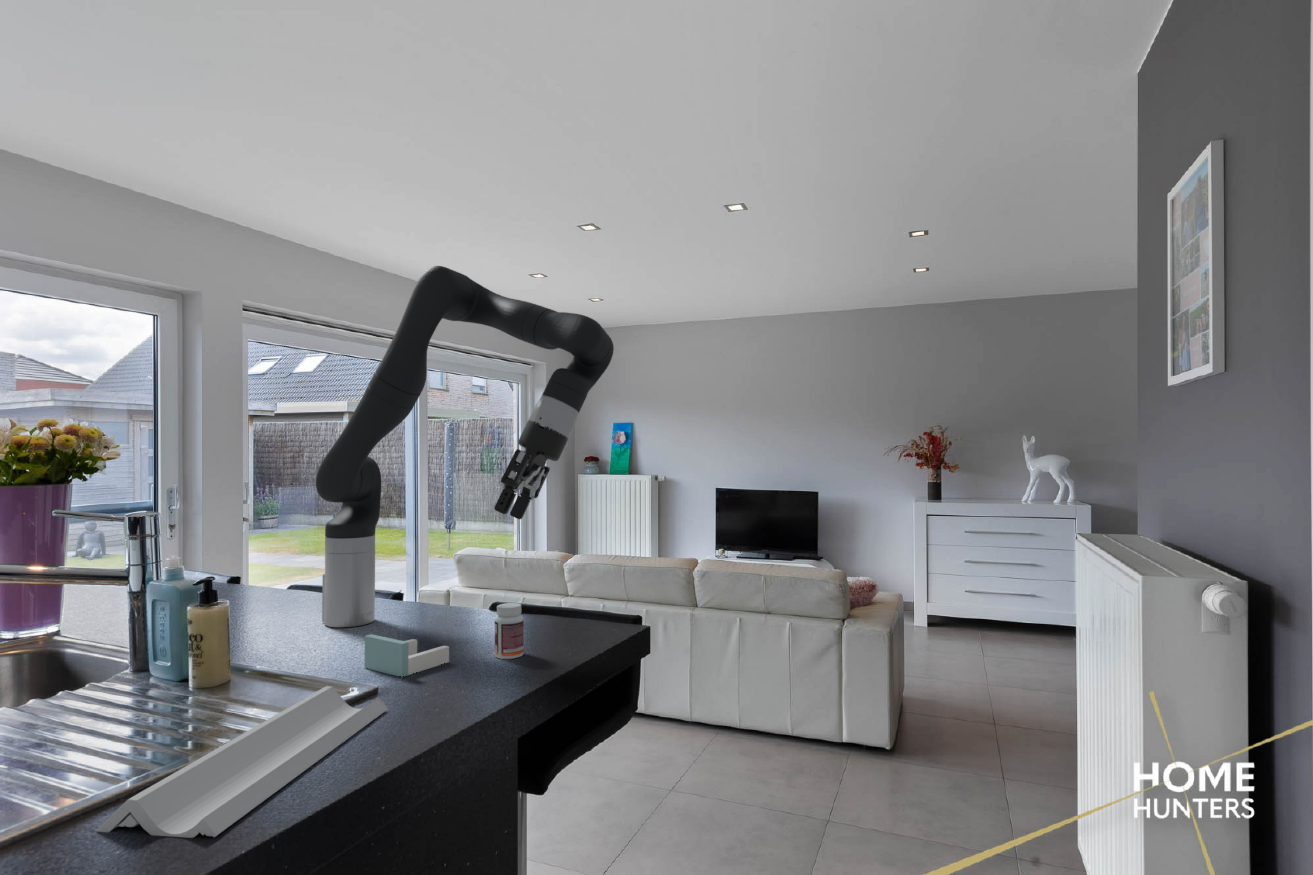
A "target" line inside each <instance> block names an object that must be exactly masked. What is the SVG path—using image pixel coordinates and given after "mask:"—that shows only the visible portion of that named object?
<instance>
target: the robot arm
mask: <svg viewBox="0 0 1313 875" xmlns="http://www.w3.org/2000/svg"><path fill="white" fill-rule="evenodd" d="M443 319H444V320H448V321H451V322H461V323H462V322H463V323H471V324H476V325H477V324H479V325H482V326H488V327H490V328H493V329H496V330H499V331H501V332H503V333H504V334H507V335H509V336H510V337H513V338H515V339H517V340H520V341H523V342H525V343H528V344H531V345H533V346H536V347H538V348H541V349H546V350H550V351H551V350H557V349H561V350H564V351H565V352H568V353H569V354H571V355H572V356H573V358H572V359H571V361H570V362H569V364H568V366H566V368H565V367H559V368H557V369H555V370H554V371H553V373H552V374H551V375H550V378H549V380H548V382H547V384H546V385H545V387H544V390H543V392H542V394H541V397H540V398H539V399H538V401H537V403H536V404H535V405H534V407H533V410H532V412H531V414H530V416H529V418H528V420H527V422H526V424H525V426H524V428H523V430H522V432H521V435H520V437H519V439H518V440H517V443H518V445H519V446H520V447H522V448H523V449H524V450H521V449H518V448H516V449H515V451H514V452H513V455H512V456H511V460H509V461H510V462H508V465H507V467H506V469H505V471H504V472H503V475H502V477H501V478H500V479H501V480H500V483H502V491H501V493H500V495H499V497H498V499H497V501H496V504H495V505H494V511H495V512H498V513H500V514H503V515H507V514H508V513H509V516H511V517H513V518H515V519H517V520H522V519H523V518H524V515H525V513H526V511H527V510H528V507H529V505H530V502H531V501H533V500H534V499H537V498H538V497H539V495H540V492H541V490H542V489H543V488H542V487H543V486H544V483H545V481H546V479H547V477H548V474H549V472H550V471H551V470H550V469H551V467H549V466H547V465H546V463H547V461H548V460H550V461H553V462H557V461H558V460H559V459H560V458H561V455H562V453H563V451H564V449H565V447H566V445H567V443H568V441H569V439H570V436H571V434H572V433H573V430H574V428H575V425H576V422H577V419H578V416H579V414H580V411H581V410H582V407H583V405H584V402H585V401H586V399H587V396H588V394H589V392H590V390H592V388H593V387H594V386H595V385H596V384H597V382H598V381H599V379H600V378H601V377H602V375H603V374H604V373H605V372H606V370H607V369H608V367H609V365H610V363H611V362H612V359H613V355H614V350H615V348H614V343H613V340H612V338H611V336H610V335H609V334H608V333H607V332H606V331H605V329H604V328H603V327H602V325H601V324H600V323H599V322H598V321H597V320H595V319H594V318H591V317H589V316H586V315H584V314H581V313H580V314H579V313H574V312H566V311H565V312H564V311H561V312H560V311H556V310H554V309H551V308H548V307H545V306H542V305H539V304H536V303H533V302H529V301H526V300H521V299H516V298H511V297H506V296H503V295H501V294H500V293H495V292H494V291H492V290H490V289H488V288H487V287H485V286H483V285H482V284H479V283H478V282H476V281H474V280H473V279H471V278H470V277H469V276H467V275H466V274H464V273H461V272H459V271H457V270H454V269H451V268H449V267H446V266H443V265H433V266H431V267H429V268H427V269H426V270H425V271H424V272H423V273H422V274H421V275H420V277H419V278H418V280H417V282H416V283H415V286H414V288H413V290H412V293H411V296H410V298H409V300H408V303H407V304H406V308H405V310H404V313H403V316H402V319H401V320H400V323H399V325H398V327H397V330H396V332H395V334H394V336H393V338H392V339H391V342H390V343H389V346H388V348H387V350H386V351H385V353H384V356H383V358H382V360H381V361H380V362H379V365H378V366H377V368H376V369H375V371H374V373H373V375H372V377H371V379H370V380H369V382H368V385H367V386H366V389H365V391H364V393H363V395H362V397H361V399H360V400H359V402H358V404H357V405H356V407H355V410H354V411H353V413H352V414H351V417H350V419H349V420H348V422H347V424H346V426H345V427H344V428H343V431H341V434H340V435H339V437H338V438H337V439H336V441H335V442H334V444H333V446H332V447H331V448H330V449H329V451H328V453H327V454H326V456H325V457H324V458H323V460H322V461H321V464H320V465H319V467H318V469H317V473H316V476H315V488H316V492H317V494H318V496H319V497H320V498H321V499H322V500H323V501H326V502H331V503H342V504H341V509H340V510H339V512H338V514H336V515H335V516H334V517H333V518H331V519H330V520H329V521H327V522H326V524H325V527H324V528H325V529H324V530H325V531H324V536H325V537H324V573H323V575H322V584H321V588H322V594H321V595H322V600H321V602H322V604H321V606H322V607H321V608H322V610H321V617H322V618H321V621H322V623H324V626H326V627H332V628H351V627H357V626H358V627H360V626H364V625H367V624H368V625H369V624H371V623H373V622H374V621H375V616H376V614H375V613H376V612H375V609H376V608H375V607H376V606H375V604H376V602H375V601H376V596H375V595H376V526H377V524H378V522H379V519H380V514H381V500H382V474H381V470H380V466H379V465H378V463H377V461H375V459H373V458H372V457H370V456H369V455H370V453H371V452H372V451H373V449H374V448H375V446H376V445H378V443H380V442H381V441H382V440H383V439H384V438H385V437H386V436H387V435H388V434H390V433H391V432H392V431H393V430H394V429H396V428H397V427H398V426H399V425H400V424H401V423H402V422H403V421H404V420H405V419H406V418H407V417H408V416H409V414H411V412H412V410H413V409H414V407H415V405H416V403H417V401H418V399H419V398H420V396H421V394H422V392H423V390H424V387H425V385H426V381H427V373H428V371H427V370H428V368H427V366H428V364H427V362H428V359H427V358H428V349H429V344H430V342H431V339H432V337H433V335H434V333H435V331H436V330H437V327H438V326H439V323H440V322H441V321H442V320H443ZM518 492H519V494H518V495H517V493H518ZM516 496H517V497H516ZM515 498H516V499H515ZM514 501H515V502H514ZM513 503H514V504H513ZM512 505H513V506H512ZM511 507H512V508H511ZM509 511H510V512H509Z"/></svg>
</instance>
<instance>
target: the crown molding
mask: <svg viewBox="0 0 1313 875" xmlns="http://www.w3.org/2000/svg"><path fill="white" fill-rule="evenodd" d="M386 711H388V707H387V706H386V705H385V704H384V703H383V701H382V700H381V699H380V698H378V697H377V698H376V699H375V700H373V701H372V702H370V703H368V704H367V705H366V706H364V707H362V708H356V707H352V706H351V705H349V704H348V703H347V701H345V699H343V697H342V696H341V695H340V694H339V693H338V691H337V690H336V689H335V688H334V687H333V686H330V685H329V686H328V685H326V686H324V687H322V688H321V689H319V690H317V691H315V692H314V693H311V694H310V695H308V696H306V697H304V698H303V699H301V700H300V701H298V702H296V703H294V704H292V705H290V706H289V707H287V708H285V709H283V710H282V711H280V712H279V713H277V714H275V715H273V716H272V717H269V718H268V719H266V720H265V721H263V722H261V723H259V724H258V725H255V726H253V727H252V728H251V729H249V730H247V731H245V732H243V733H242V734H240V735H238V736H236V737H234V738H232V739H231V740H230V741H228V742H226V743H224V744H223V745H221V746H219V747H217V748H216V749H213V750H212V751H210V752H209V753H206V754H205V755H203V756H201V757H200V758H199V759H196V760H195V761H193V762H191V763H189V764H187V765H186V766H184V767H181V768H180V769H178V770H177V771H175V772H174V773H171V774H170V775H169V776H167V777H164V778H163V779H161V780H159V781H158V782H156V783H154V784H152V785H151V786H149V787H147V788H145V789H143V790H142V791H140V792H138V793H137V794H135V795H134V796H132V797H130V798H128V799H127V800H126V801H124V803H122V805H120V806H119V807H118V808H117V809H116V810H115V812H113V813H112V814H111V815H110V816H109V817H108V818H107V819H106V820H105V821H104V822H103V823H101V825H100V826H98V828H96V830H94V831H95V832H96V833H97V832H99V833H111V832H112V831H113V830H115V829H116V828H117V829H118V828H119V827H122V828H123V827H127V828H134V827H137V826H141V827H142V829H143V830H144V831H145V832H147V833H148V834H149V836H150V835H151V836H157V837H174V838H187V839H189V838H190V839H193V838H195V837H196V836H198V835H199V834H201V835H202V836H204V835H205V836H207V837H213V838H216V837H217V836H218V835H219V834H221V833H222V832H224V831H225V830H227V829H228V828H229V827H231V826H232V825H234V824H235V823H236V822H237V821H239V820H240V819H241V818H243V817H244V816H246V815H247V814H249V812H251V811H252V810H253V809H255V808H256V807H258V806H259V805H260V804H262V803H263V802H264V801H266V800H268V798H270V797H271V796H273V795H274V794H276V793H277V792H278V791H279V790H281V789H282V788H284V787H285V786H286V785H287V784H289V783H290V782H292V781H293V780H294V779H295V778H297V777H299V776H300V775H301V774H302V773H304V772H305V771H306V770H308V769H309V768H311V767H312V766H313V765H314V764H315V763H317V762H319V761H320V760H321V759H323V758H324V757H325V756H327V755H328V754H329V753H331V752H332V751H334V750H335V749H336V748H338V747H339V746H340V745H342V744H343V743H344V742H346V741H347V740H349V738H351V737H352V736H354V735H355V734H357V733H358V732H359V731H361V730H362V729H363V728H364V727H366V726H367V725H369V724H370V723H371V722H372V721H374V720H375V719H377V718H378V717H379V716H381V715H382V714H383V713H385V712H386ZM95 832H94V833H95Z"/></svg>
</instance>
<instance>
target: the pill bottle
mask: <svg viewBox="0 0 1313 875" xmlns="http://www.w3.org/2000/svg"><path fill="white" fill-rule="evenodd" d="M496 614H497V616H495V619H494V656H495V657H496V658H498V659H500V660H512V659H517V658H520V657H522V656H523V655H524V647H525V646H524V640H525V639H524V636H525V635H524V633H525V632H524V626H525V625H524V617H523V615H522V604H521V603H517V602H507V603H500V604H497V606H496Z"/></svg>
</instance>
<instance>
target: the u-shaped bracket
mask: <svg viewBox="0 0 1313 875" xmlns="http://www.w3.org/2000/svg"><path fill="white" fill-rule="evenodd" d="M444 663H445V664H447V663H450V646H448V645H442V646H438V647H435V648H430V649H428V650H424V651H420V652H418V639H415V638H411V639H407V640H400V639H396V638H395V639H394V638H391V637H386V636H381V635H377V634H376V635H375V634H366V635H364V669H367V668H368V670H372V671H376V672H381V673H384V674H388V675H391V676H395V677H399V676H401V677H400V678H404V677H406V676H410V675H414V674H416V672H417V673H419V672H424V671H425V670H429V669H432V668H435V667H438V666H441V664H442V665H444ZM413 673H414V674H413ZM403 676H404V677H403Z"/></svg>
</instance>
